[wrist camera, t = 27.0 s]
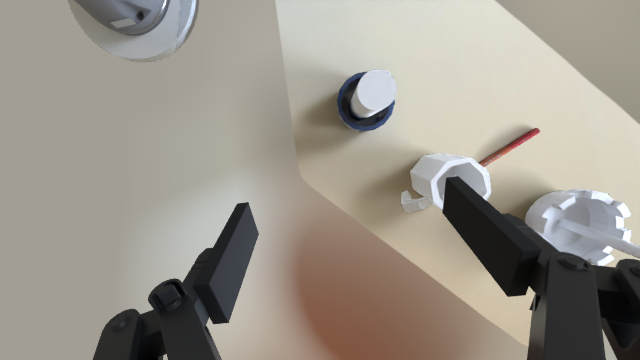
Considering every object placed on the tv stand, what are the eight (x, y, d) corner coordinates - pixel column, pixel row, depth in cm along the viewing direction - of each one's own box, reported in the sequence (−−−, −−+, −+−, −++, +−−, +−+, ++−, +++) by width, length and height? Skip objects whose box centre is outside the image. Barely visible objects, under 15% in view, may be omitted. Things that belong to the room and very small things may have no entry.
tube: (378, 98, 41) (403, 78, 26) (368, 123, 42) (386, 116, 27) (355, 89, 41) (367, 62, 26) (345, 113, 42) (350, 101, 27)
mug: (442, 143, 43) (473, 145, 33) (466, 184, 43) (503, 197, 34) (382, 180, 44) (395, 192, 35) (407, 219, 45) (426, 241, 36)
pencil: (534, 127, 41) (538, 127, 40) (537, 132, 41) (542, 132, 40) (434, 189, 44) (436, 191, 43) (437, 194, 44) (440, 195, 43)
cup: (331, 125, 43) (331, 123, 37) (344, 75, 42) (345, 65, 36) (378, 136, 43) (385, 136, 37) (392, 87, 41) (401, 79, 36)
